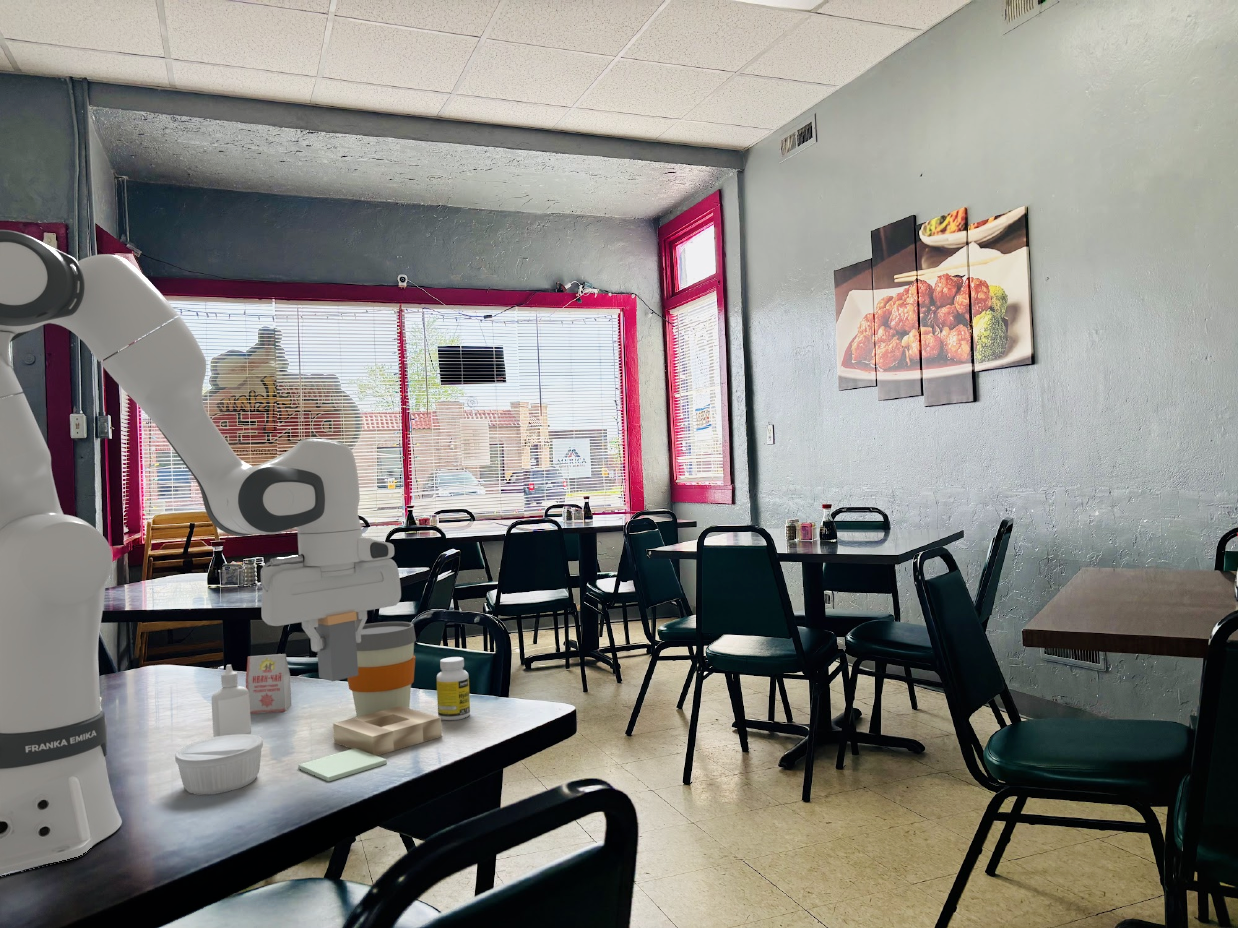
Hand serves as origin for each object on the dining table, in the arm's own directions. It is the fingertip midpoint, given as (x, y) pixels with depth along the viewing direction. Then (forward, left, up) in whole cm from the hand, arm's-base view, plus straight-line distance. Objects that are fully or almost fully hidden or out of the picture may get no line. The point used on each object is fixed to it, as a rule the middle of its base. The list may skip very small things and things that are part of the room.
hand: (336, 646), depth 129 cm
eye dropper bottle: (-4, +29, -17) cm, 34 cm away
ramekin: (-14, +8, -18) cm, 24 cm away
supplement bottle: (+25, +8, -18) cm, 31 cm away
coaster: (0, 0, -17) cm, 17 cm away
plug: (0, 0, -4) cm, 4 cm away
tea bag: (+8, +42, -18) cm, 46 cm away
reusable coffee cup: (+19, +21, -17) cm, 33 cm away
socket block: (+11, +6, -17) cm, 21 cm away
